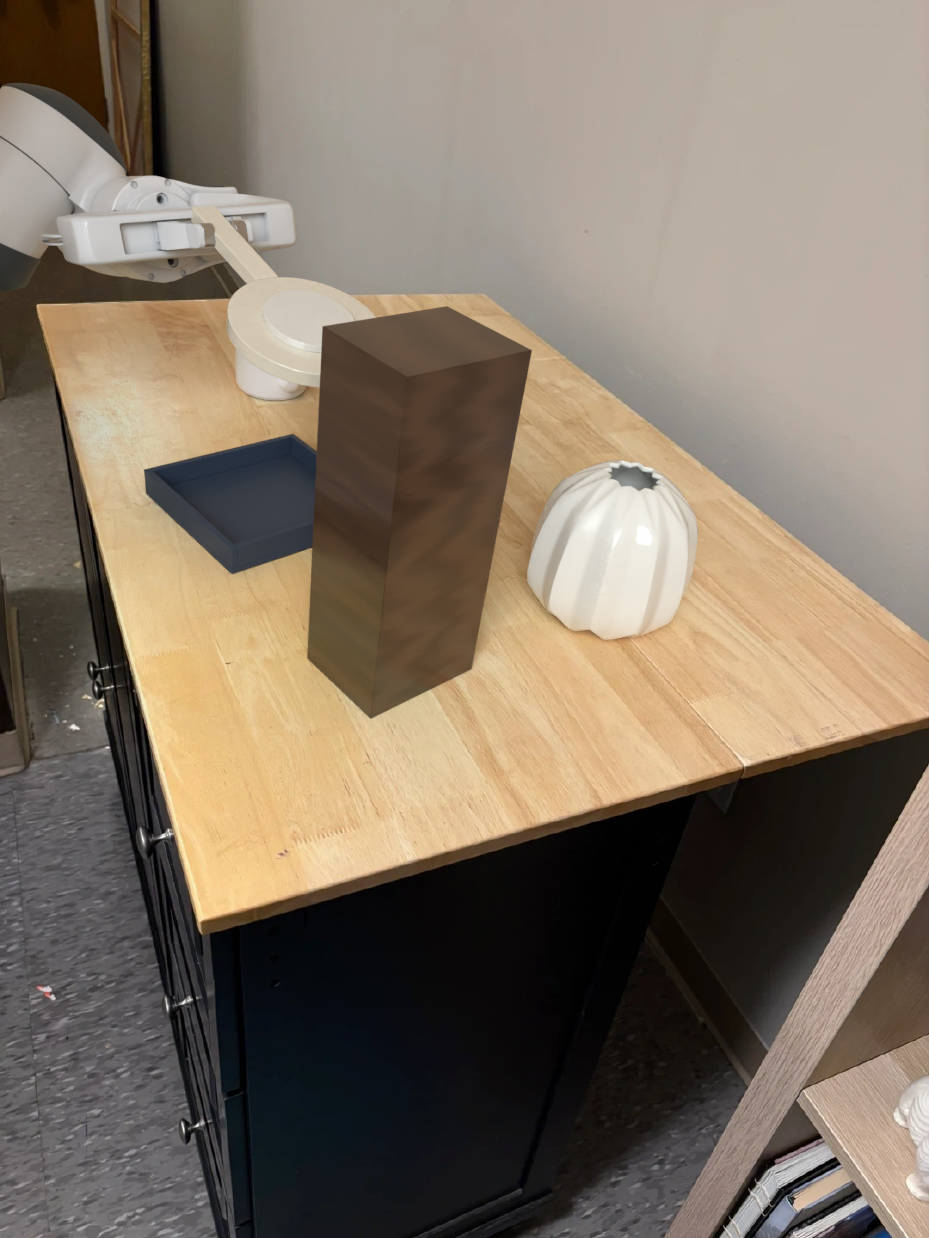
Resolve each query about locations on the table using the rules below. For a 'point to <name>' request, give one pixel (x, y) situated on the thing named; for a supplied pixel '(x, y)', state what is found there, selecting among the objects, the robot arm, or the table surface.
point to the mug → (263, 382)
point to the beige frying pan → (277, 309)
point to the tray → (242, 500)
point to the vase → (614, 550)
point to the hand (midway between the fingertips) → (226, 234)
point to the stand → (408, 498)
